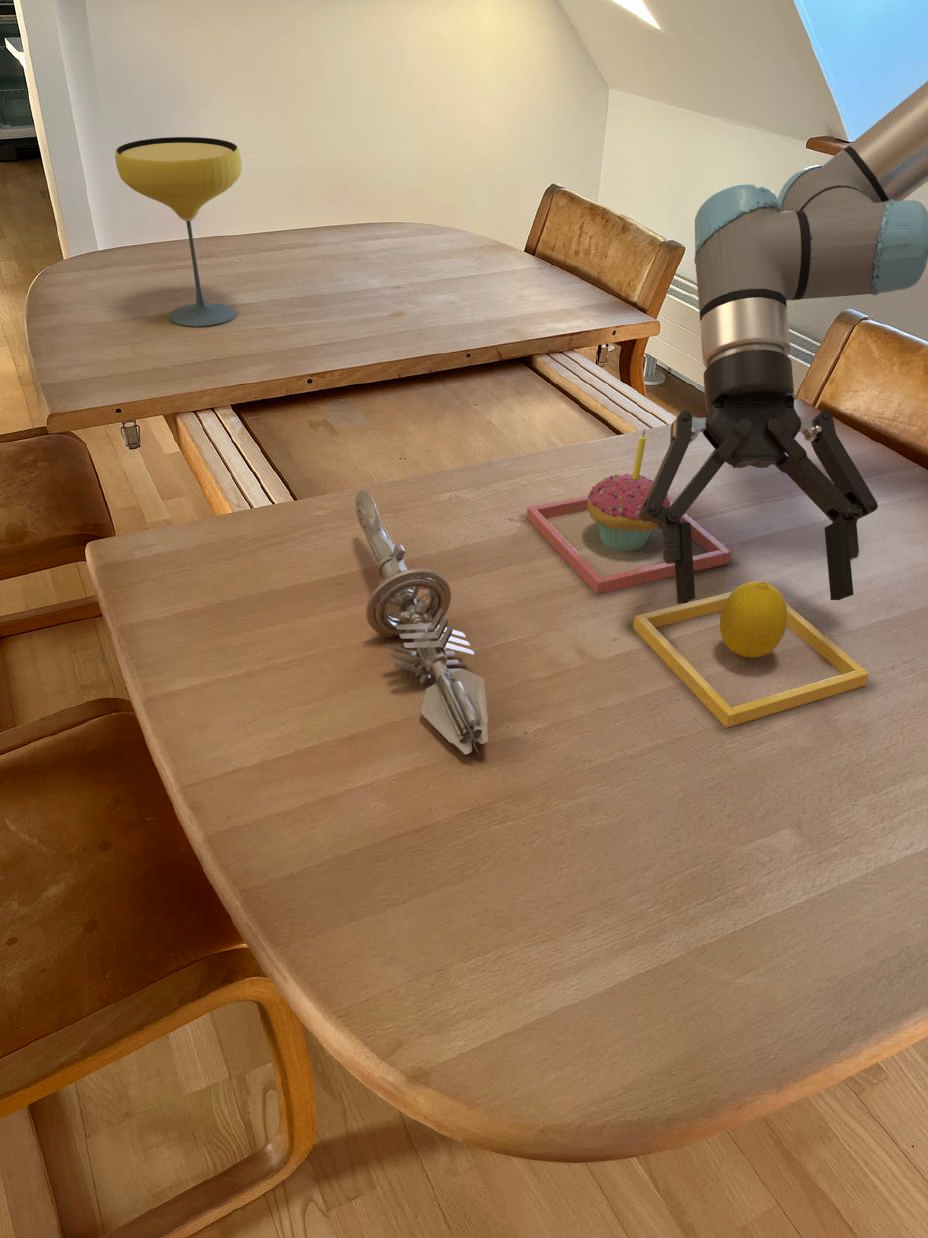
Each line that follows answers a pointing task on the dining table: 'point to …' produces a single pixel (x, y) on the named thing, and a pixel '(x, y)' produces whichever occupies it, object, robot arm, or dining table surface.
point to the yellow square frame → (762, 707)
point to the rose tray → (625, 579)
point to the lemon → (753, 619)
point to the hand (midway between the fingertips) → (764, 599)
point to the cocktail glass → (183, 195)
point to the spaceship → (424, 635)
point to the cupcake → (623, 507)
